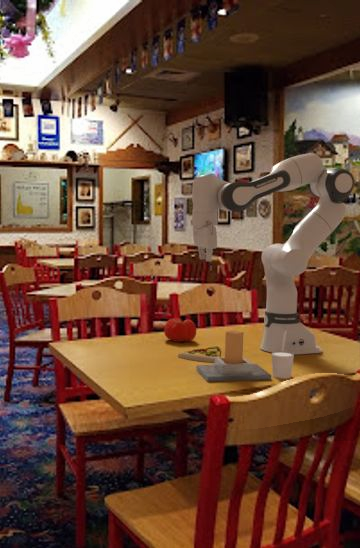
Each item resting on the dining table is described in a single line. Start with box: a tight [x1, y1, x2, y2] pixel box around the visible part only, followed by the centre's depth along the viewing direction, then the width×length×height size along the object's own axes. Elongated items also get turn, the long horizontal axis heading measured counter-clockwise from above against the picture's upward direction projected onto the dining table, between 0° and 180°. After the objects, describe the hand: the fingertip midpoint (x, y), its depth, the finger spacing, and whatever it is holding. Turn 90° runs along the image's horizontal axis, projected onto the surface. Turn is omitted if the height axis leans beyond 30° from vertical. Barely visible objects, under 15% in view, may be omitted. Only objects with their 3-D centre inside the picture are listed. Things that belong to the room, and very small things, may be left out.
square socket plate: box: [195, 356, 272, 383], centre depth 200 cm, size 20×14×4 cm
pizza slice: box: [177, 346, 221, 364], centre depth 226 cm, size 16×21×3 cm
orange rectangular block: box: [224, 330, 244, 364], centre depth 199 cm, size 4×4×12 cm
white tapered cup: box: [271, 352, 295, 379], centre depth 200 cm, size 7×7×7 cm
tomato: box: [163, 317, 197, 343], centre depth 248 cm, size 13×12×8 cm
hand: (205, 260), depth 226 cm, fingers open, 8 cm apart
